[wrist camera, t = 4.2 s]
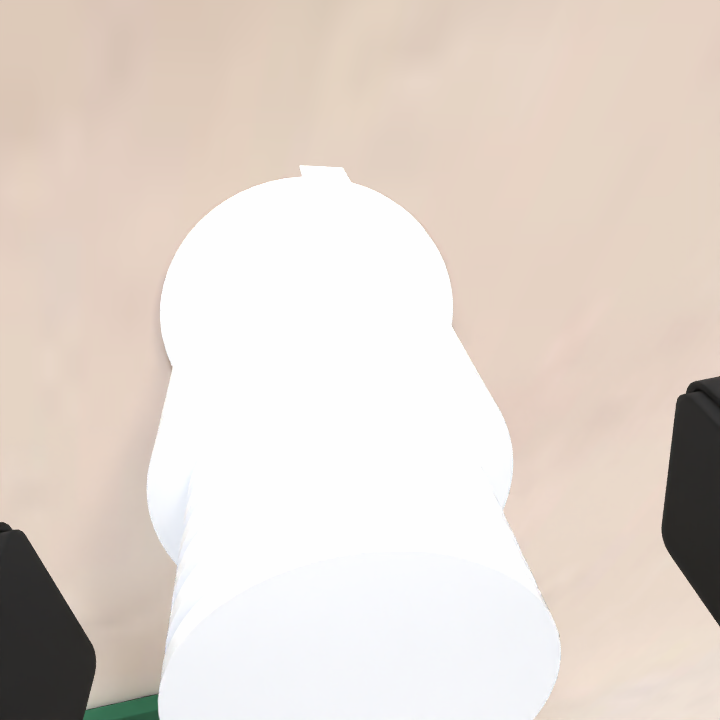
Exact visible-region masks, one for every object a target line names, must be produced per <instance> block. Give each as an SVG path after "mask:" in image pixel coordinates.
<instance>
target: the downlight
mask: <svg viewBox="0 0 720 720" xmlns="http://www.w3.org/2000/svg"><path fill="white" fill-rule="evenodd" d="M300 171H301V175H302V177H296V178H287V179H281V180H276V181H271V182H267V183H264V184H261V185H258V186H255V187H252V188H250V189H247V190H245V191H243V192H240V193H238V194H237V195H235V196H233V197H231V198H229V199H228V200H226V201H224V202H223V203H221V204H220V205H219V206H217V207H216V208H214V209H213V210H212V211H211V212H209V213H208V214H207V215H206V216H205V217H204V218H202V219H201V220H200V222H199V223H198V224H197V225H196V226H195V227H194V228H193V229H192V230H191V231H190V233H189V234H188V235H187V237H186V238H185V239H184V241H183V242H182V244H181V245H180V247H179V249H178V250H177V252H176V254H175V256H174V258H173V260H172V262H171V265H170V267H169V270H168V273H167V276H166V279H165V282H164V286H163V291H162V296H161V307H160V323H161V331H162V337H163V341H164V345H165V349H166V352H167V355H168V357H169V360H170V362H171V364H172V366H173V369H172V373H171V378H170V382H169V386H168V390H167V394H166V399H165V403H164V407H163V411H162V416H161V420H160V424H159V428H158V433H157V437H156V441H155V445H154V449H153V453H152V457H151V461H150V466H149V470H148V479H147V502H148V507H149V513H150V517H151V520H152V523H153V527H154V529H155V531H156V534H157V536H158V538H159V540H160V542H161V544H162V545H163V547H164V549H165V550H166V552H167V553H168V555H169V556H170V557H171V558H172V560H173V561H174V562H175V563H176V565H177V572H176V578H175V585H174V591H173V598H172V606H171V615H170V619H169V626H168V633H167V640H166V648H165V658H164V661H163V667H162V674H161V681H160V688H159V696H158V713H159V718H160V720H533V719H534V718H535V717H536V715H537V714H538V713H539V711H540V710H541V709H542V707H543V706H544V704H545V702H546V701H547V699H548V697H549V695H550V694H551V691H552V689H553V687H554V684H555V682H556V679H557V675H558V672H559V667H560V660H561V645H560V639H559V634H558V631H557V628H556V625H555V622H554V620H553V618H552V616H551V613H550V611H549V609H548V607H547V605H546V603H545V601H544V599H543V597H542V595H541V593H540V591H539V589H538V587H537V584H536V581H535V579H534V577H533V575H532V573H531V570H530V568H529V566H528V564H527V562H526V560H525V558H524V556H523V554H522V552H521V550H520V547H519V545H518V543H517V540H516V538H515V536H514V534H513V532H512V530H511V528H510V526H509V524H508V522H507V520H506V518H505V515H504V512H503V508H504V506H505V504H506V501H507V497H508V494H509V491H510V486H511V481H512V473H513V452H512V445H511V439H510V435H509V432H508V429H507V426H506V422H505V420H504V418H503V416H502V414H501V412H500V410H499V408H498V406H497V405H496V403H495V401H494V400H493V398H492V396H491V395H490V393H489V391H488V389H487V388H486V386H485V384H484V382H483V381H482V379H481V377H480V375H479V374H478V372H477V370H476V368H475V367H474V365H473V363H472V361H471V360H470V358H469V356H468V354H467V353H466V351H465V349H464V347H463V346H462V344H461V342H460V340H459V339H458V337H457V335H456V333H455V332H454V330H453V328H452V326H451V325H452V316H453V299H452V290H451V285H450V280H449V276H448V273H447V270H446V267H445V264H444V261H443V259H442V257H441V255H440V253H439V251H438V249H437V248H436V246H435V244H434V243H433V241H432V239H431V238H430V236H429V235H428V234H427V233H426V231H425V230H424V229H423V227H422V226H421V225H420V224H419V223H418V222H417V221H416V220H415V219H414V218H413V217H412V216H411V215H410V214H409V213H408V212H407V211H405V210H404V209H403V208H402V207H401V206H399V205H398V204H396V203H395V202H393V201H392V200H390V199H389V198H387V197H385V196H383V195H381V194H380V193H378V192H376V191H373V190H371V189H369V188H366V187H364V186H361V185H358V184H355V183H351V182H350V180H349V178H348V176H347V175H346V173H345V171H344V169H343V168H337V167H317V166H300Z"/></svg>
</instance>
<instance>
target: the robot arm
mask: <svg viewBox="0 0 720 720" xmlns="http://www.w3.org/2000/svg"><path fill="white" fill-rule="evenodd" d="M662 537H663V541H664V544H665V546H666V548H667V550H668V552H669V554H670V555H671V557H672V558H673V560H674V561H675V563H676V564H677V565H678V567H679V568H680V570H681V571H682V573H683V574H684V576H685V577H686V578H687V580H688V581H689V583H690V584H691V586H692V587H693V589H694V590H695V591H696V593H697V594H698V596H699V597H700V599H701V600H702V602H703V603H704V604H705V606H706V607H707V609H708V610H709V612H710V613H711V615H712V616H713V617H714V619H715V620H716V622H717V623H718V625H719V626H720V376H719V377H714V378H709V379H704V380H700V381H695V382H693V383H690V385H689V386H688V388H687V391H686V394H683V395H680V396H679V397H678V399H677V403H676V410H675V418H674V427H673V435H672V443H671V452H670V460H669V469H668V477H667V486H666V494H665V502H664V511H663V519H662ZM95 669H96V656H95V651H94V648H93V645H92V644H91V642H90V640H89V639H88V637H87V635H86V634H85V632H84V630H83V629H82V627H81V625H80V624H79V622H78V621H77V619H76V617H75V616H74V614H73V612H72V611H71V609H70V607H69V606H68V604H67V602H66V601H65V599H64V598H63V596H62V594H61V593H60V591H59V589H58V588H57V586H56V584H55V583H54V581H53V579H52V578H51V576H50V575H49V573H48V571H47V570H46V568H45V566H44V565H43V563H42V561H41V560H40V558H39V556H38V555H37V553H36V552H35V550H34V548H33V547H32V545H31V543H30V542H29V540H28V538H27V537H26V535H25V534H24V533H23V532H22V531H20V530H12V528H11V527H10V526H9V525H8V524H6V523H4V522H0V720H83V718H84V714H85V710H86V706H87V702H88V698H89V694H90V691H91V687H92V683H93V679H94V675H95Z"/></svg>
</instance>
